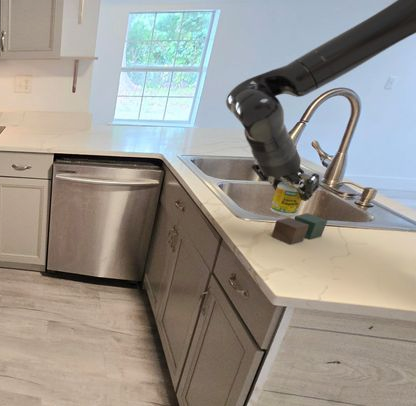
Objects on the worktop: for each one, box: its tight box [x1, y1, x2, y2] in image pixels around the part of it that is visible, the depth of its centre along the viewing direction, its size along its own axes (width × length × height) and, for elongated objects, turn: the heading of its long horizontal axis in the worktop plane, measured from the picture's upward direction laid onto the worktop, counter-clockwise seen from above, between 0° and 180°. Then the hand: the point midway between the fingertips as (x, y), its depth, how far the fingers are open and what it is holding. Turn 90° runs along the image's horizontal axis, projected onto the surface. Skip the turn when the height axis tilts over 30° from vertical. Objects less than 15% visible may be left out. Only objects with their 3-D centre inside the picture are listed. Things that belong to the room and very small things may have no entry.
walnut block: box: [271, 217, 309, 246], centre depth 99 cm, size 5×5×5 cm
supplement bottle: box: [269, 181, 303, 217], centre depth 91 cm, size 5×5×10 cm
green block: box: [293, 212, 329, 240], centre depth 101 cm, size 5×5×5 cm
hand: (293, 193), depth 91 cm, fingers closed on supplement bottle, 5 cm apart
